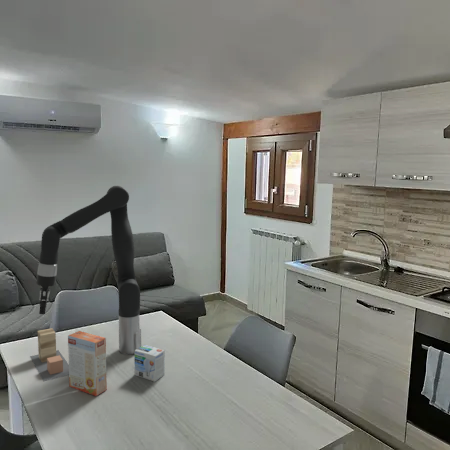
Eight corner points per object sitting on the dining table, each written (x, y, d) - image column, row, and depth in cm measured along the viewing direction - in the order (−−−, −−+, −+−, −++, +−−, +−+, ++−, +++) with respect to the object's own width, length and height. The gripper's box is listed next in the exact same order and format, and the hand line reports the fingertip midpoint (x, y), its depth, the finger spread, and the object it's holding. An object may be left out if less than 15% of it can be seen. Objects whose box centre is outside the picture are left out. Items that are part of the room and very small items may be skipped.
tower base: (56, 359, 186) (56, 345, 185) (41, 362, 183) (41, 349, 182) (53, 354, 191) (52, 341, 190) (38, 357, 188) (38, 344, 187)
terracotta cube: (63, 371, 175) (62, 359, 175) (50, 374, 172) (49, 362, 172) (60, 366, 179) (59, 355, 179) (47, 369, 177) (46, 358, 176)
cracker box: (107, 389, 163) (106, 337, 160) (96, 397, 157) (94, 342, 155) (80, 380, 169) (79, 329, 166) (68, 387, 164) (67, 335, 161)
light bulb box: (133, 375, 174) (133, 350, 173) (144, 368, 180) (144, 344, 179) (155, 382, 169) (155, 356, 168) (165, 374, 175) (165, 349, 174)
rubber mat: (74, 374, 174) (74, 373, 174) (43, 382, 167) (43, 381, 167) (58, 350, 195) (58, 350, 195) (29, 357, 188) (29, 356, 188)
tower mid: (56, 345, 185) (55, 332, 184) (41, 349, 182) (40, 335, 181) (52, 341, 190) (52, 328, 189) (38, 344, 187) (37, 330, 186)
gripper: (55, 278, 176) (51, 316, 177) (57, 270, 189) (52, 305, 190) (36, 277, 173) (31, 316, 175) (38, 268, 186) (34, 305, 188)
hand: (42, 310), depth 182 cm, fingers open, 8 cm apart
